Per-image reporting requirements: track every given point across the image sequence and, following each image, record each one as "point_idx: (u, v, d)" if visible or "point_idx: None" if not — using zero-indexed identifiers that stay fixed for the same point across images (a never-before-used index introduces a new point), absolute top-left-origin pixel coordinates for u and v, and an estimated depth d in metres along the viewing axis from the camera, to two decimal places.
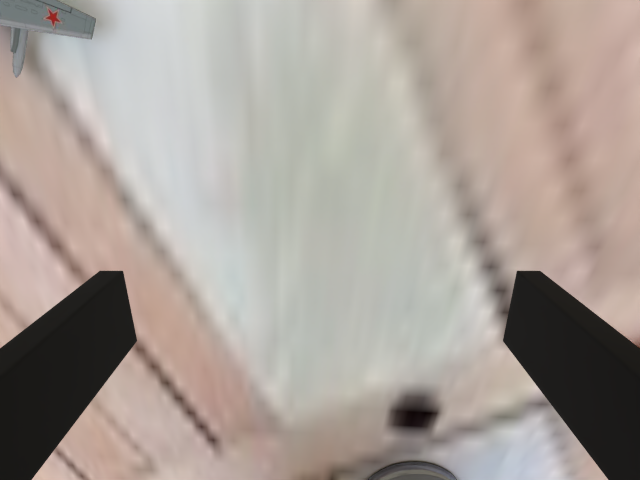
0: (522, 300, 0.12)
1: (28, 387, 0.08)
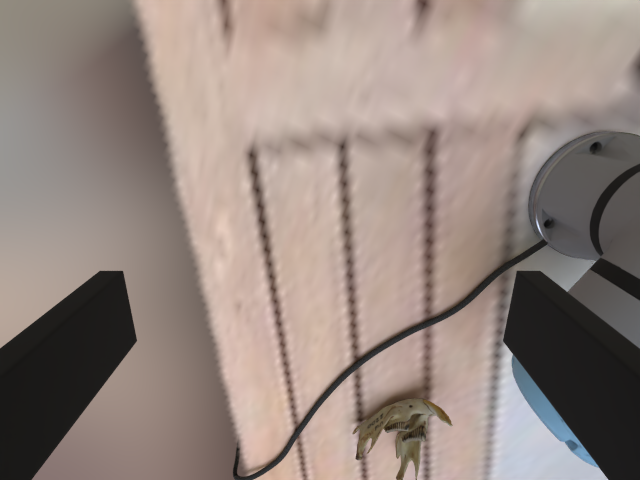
0: (522, 300, 0.12)
1: (28, 387, 0.08)
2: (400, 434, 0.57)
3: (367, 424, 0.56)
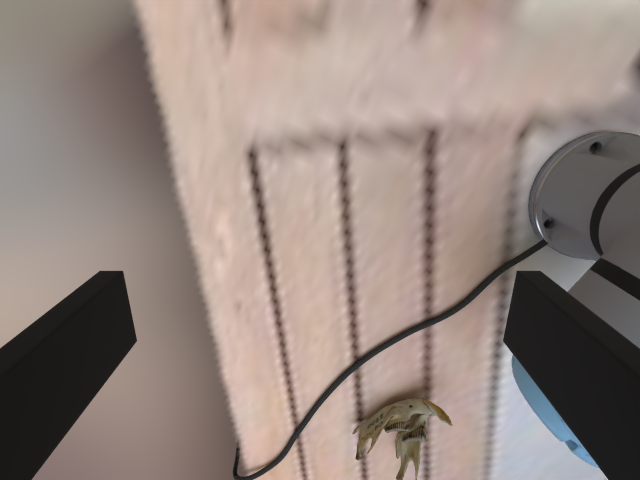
0: (522, 300, 0.12)
1: (28, 387, 0.08)
2: (400, 434, 0.57)
3: (367, 424, 0.56)
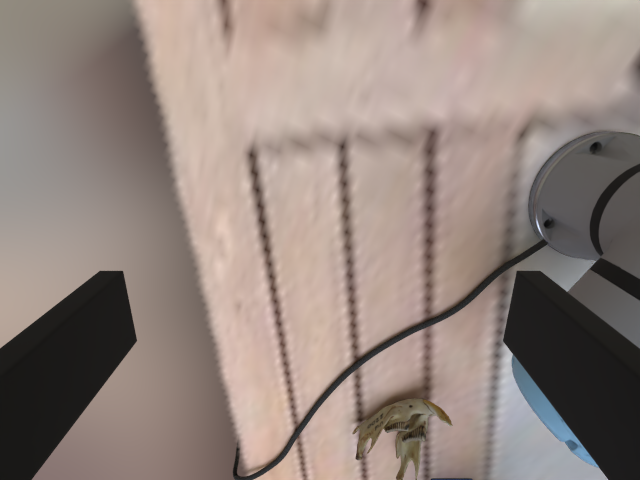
0: (522, 300, 0.12)
1: (28, 387, 0.08)
2: (400, 434, 0.57)
3: (367, 424, 0.56)
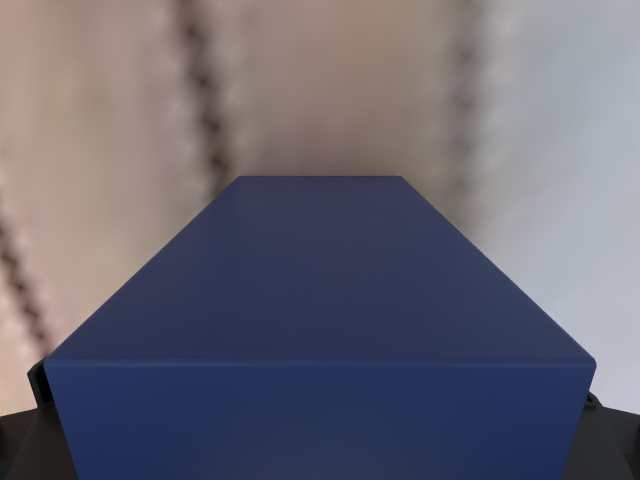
0: None
1: None
2: None
3: None
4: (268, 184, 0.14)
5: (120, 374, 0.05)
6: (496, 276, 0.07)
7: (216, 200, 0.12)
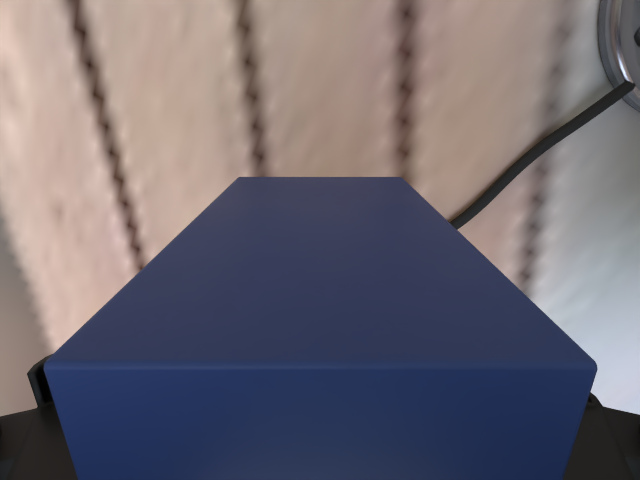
0: None
1: None
2: None
3: None
4: (268, 185, 0.14)
5: (120, 377, 0.05)
6: (497, 278, 0.07)
7: (216, 201, 0.12)
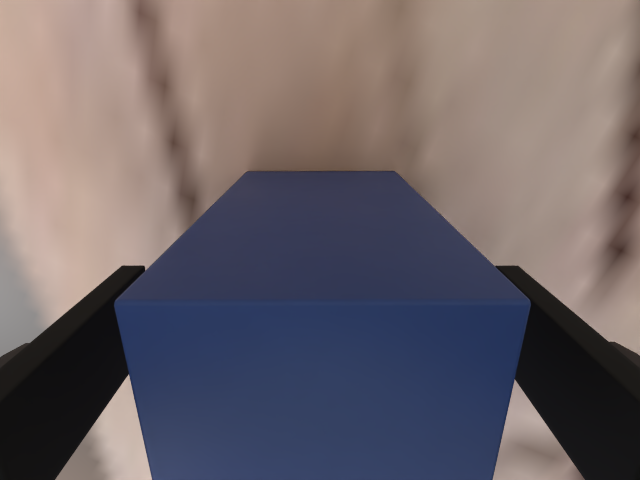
0: None
1: (64, 374, 0.09)
2: None
3: None
4: (274, 178, 0.16)
5: (171, 312, 0.06)
6: (465, 247, 0.08)
7: (229, 191, 0.13)
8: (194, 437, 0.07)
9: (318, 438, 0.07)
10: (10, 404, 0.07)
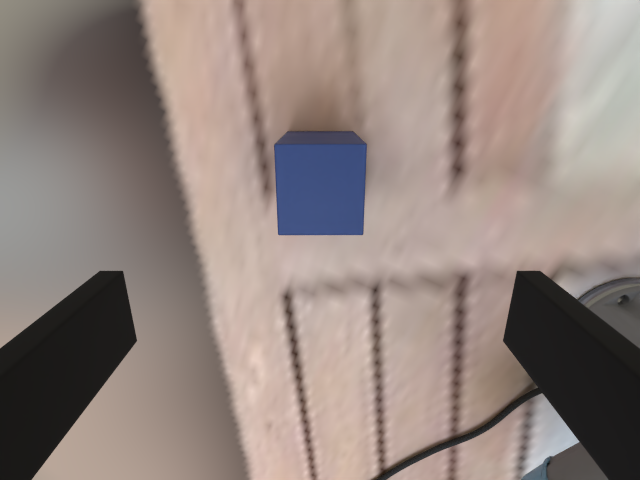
0: (522, 300, 0.12)
1: (28, 387, 0.08)
2: None
3: None
4: (300, 132, 0.38)
5: (287, 147, 0.28)
6: (360, 140, 0.30)
7: (285, 134, 0.35)
8: (289, 182, 0.29)
9: (319, 183, 0.29)
10: None
